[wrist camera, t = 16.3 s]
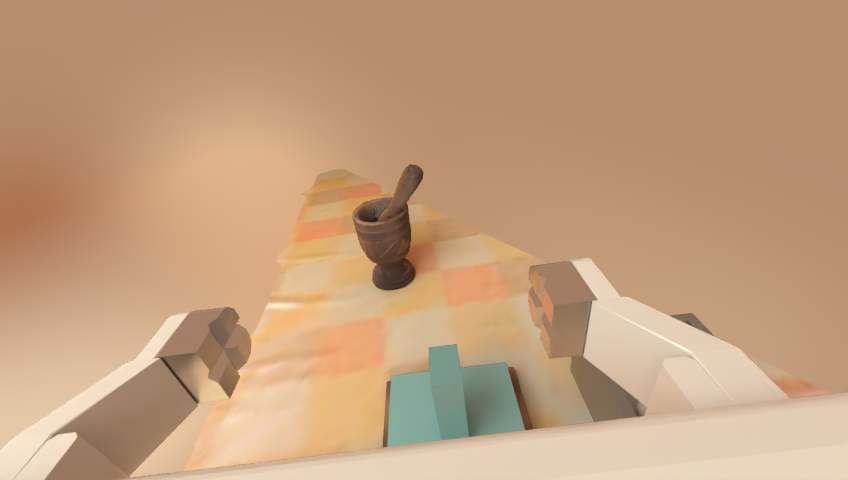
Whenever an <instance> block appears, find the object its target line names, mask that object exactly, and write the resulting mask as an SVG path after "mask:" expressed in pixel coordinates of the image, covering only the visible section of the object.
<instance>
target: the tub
mask: <svg viewBox="0 0 848 480" xmlns="http://www.w3.org/2000/svg"><path fill="white" fill-rule="evenodd" d="M671 317H673V318H675V319H677V320H679V321H681V322H684V323H686V324H688V325H690V326H692V327H694V328H697V329H699V330H701V331H703V332H705V333H707V334H710V335H712V336H714V335H713V334H712V333H711V332H710V331H709V330H708V329H707V328H706V327H705V326H704V325H703V324H702V323H701V322H700V321H699V320H698V319H697V318H696V317H695V316H694V315H693V314H692V313H689V314H680V315H672V316H671ZM583 356H584V355H580V356H572V362H571V369H570V370H571V372H572V374H573V376H574V378H575V381H576V383H577V385H578V387H579V389H580V392H581V394H582V396H583V398H584V400H585V402H586V405H587V407H588V409H589V411H590V413H591V416H592V418H593V420H594V422H599V421H607V420H616V419H624V418H632V417H641V416H645V413H646V410H647V407H646V406H645V405H644V404H642V403H641V402H640V401H639V400H637V399H636V398H635V397H634V396H632V395H631V394H630V393H628V392H627V391H626V390H625V389H623V388H622V387H621V386H620V385H618V384H617V383H616V382H615V381H613V380H612V379H611V378H610V377H608V376H607V375H606V374H605V373H603V372H602V371H601V370H599V369H598V368H597V367H596V366H594V365H593V364H592V363H591V362H589V361H588V360H587V359H586V358H584V357H583Z"/></svg>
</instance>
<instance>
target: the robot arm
mask: <svg viewBox="0 0 848 480" xmlns="http://www.w3.org/2000/svg"><path fill="white" fill-rule="evenodd" d="M529 280H530V282H531V284H532V288H531V289H530V290H529V291H528V301H529V308H530V313H531V316H532V319H533V322H534V324H535V326H537V327H538V328H540V329H541V340H542V343H543V345H544V347H545V350H546V352H547V354H548V356H549V359H550V358H560V357H570V356H580V355H584V356H583V357H584V358H586V359H587V360H588V361H589V362H591V363H592V364H593V365H594V366H596V367H597V368H598V369H599V370H601V371H602V372H603V373H605V374H606V375H607V376H608V377H610V378H611V379H612V380H613V381H615V382H616V383H617V384H618V385H620V386H621V387H622V388H623V389H625V390H626V391H627V392H628V393H630V394H631V395H632V396H634V397H635V398H636V399H637V400H639V401H640V402H641V403H642V404H644V405H645V406H646V407H647V410H646V413H645V416H641V417H632V418H624V419H616V420H607V421H599V422H591V423H582V424H574V425H566V426H558V427H549V428H541V429H533V430H524V431H516V432H508V433H499V434H491V435H483V436H474V437H466V438H458V439H449V440H441V441H433V442H425V443H416V444H408V445H400V446H392V447H383V448H375V449H367V450H359V451H350V452H342V453H334V454H326V455H317V456H309V457H301V458H292V459H284V460H276V461H267V462H259V463H250V464H242V465H233V466H225V467H217V468H208V469H200V470H191V471H183V472H174V473H166V474H158V475H149V476H141V477H133V478H130V477H129V476H130V475H131V474H132V473H133V472H134V471H135V470H136V469H137V468H138V467H139V466H140V464H142V463H143V462H144V461H145V459H146V458H147V457H148V456H149V455H150V454H151V453H152V452H153V451H154V450H155V449H156V448H157V447H158V446H159V445H160V444H161V443H162V442H163V441H164V440H165V439H166V438H167V437H168V436H169V435H170V434H171V433H172V432H173V431H174V430H175V429H176V428H177V427H178V426H179V425H180V424H181V423H182V422H183V420H184V419H185V418H186V417H187V416H188V415H189V414H190V413H191V412H192V411H193V410H194V409H195V408H196V407H197V406H198V405H197V404H201V403H207V402H214V401H220V400H226V399H230V397H231V395H232V393H233V391H234V389H235V387H236V384H237V382H238V380H239V378H240V375H239V373H238V370H239V369H240V368H241V367H242V366H243V365H245V364H246V363H247V361H248V358H249V356H250V353H251V339H250V335H249V333H248V332H247V330H246V329H245V328H244V327H242V326H240V325H238V324H237V323H238V320H239V316H238V314H237V313H236V311H235V310H234V309H233V308H229V307H225V308H217V309H208V310H199V311H193V312H183V313H176V314H174V315H172V316H170V317H169V318H168V319H167V321H166V322H165V323H164V324H163V326H162V327H161V328H160V329H159V331H158V332H157V333H156V334H155V335H154V337H153V338H152V339H151V340H150V342H149V343H148V344H147V345H146V347H145V348H144V349H143V350H142V352H141V353H140V354H139V355H138V357H137V358H136V359H135V360H134V361H133V362H127V363H126V364H124V365H123V366H121V367H120V368H118V369H117V370H115V371H114V372H112V373H111V374H109V375H108V376H106V377H105V378H103V379H101V380H100V381H99V382H97V383H96V384H94V385H93V386H91V387H89V388H88V389H86V390H85V391H83V392H82V393H80V394H79V395H77V396H76V397H74V398H73V399H71V400H70V401H68V402H67V403H65V404H64V405H62V406H61V407H59V408H58V409H56V410H55V411H53V412H51V413H50V414H48V415H47V416H45V417H44V418H42V419H41V420H39V421H38V422H36V423H35V424H33V425H32V426H30V427H29V428H27V429H26V430H24V431H23V432H21V433H20V434H18V435H17V436H15V437H14V438H12V439H11V440H10V441H9V442H8V443H7V444H6V445H5V447H4V448H3V449H2V450H1V451H0V480H848V392H840V393H832V394H824V395H815V396H807V397H798V398H789V397H788V396H787V395H786V394H785V393H784V392H783V391H782V390H781V389H780V388H779V387H778V386H777V385H776V384H775V383H774V382H773V381H772V380H771V379H770V378H769V377H768V376H767V375H766V374H765V373H764V372H763V371H762V370H761V369H760V368H759V367H758V366H756V365H755V364H754V363H753V362H752V361H751V360H750V359H749V358H748V357H747V356H746V355H745V354H744V353H743V352H742V351H741V350H740V349H739V348H738V347H735V346H733V345H731V344H729V343H727V342H725V341H722V340H720V339H718V338H716V337H714V336H712V335H710V334H707V333H705V332H703V331H701V330H699V329H697V328H694V327H692V326H690V325H688V324H686V323H684V322H681V321H679V320H677V319H675V318H673V317H671V316H668V315H666V314H664V313H662V312H660V311H658V310H655V309H653V308H651V307H649V306H647V305H644V304H642V303H640V302H638V301H636V300H634V299H631V298H629V297H621V296H620V295H619V294H618V293H617V291H616V290H615V289H614V288H613V286H612V285H611V284H610V282H609V281H608V280H607V279H606V278H605V276H604V275H603V274H602V273H601V271H600V270H599V269H598V267H597V266H596V265H595V264H594V263H593V261H592V260H591V259H590V258H581V259H574V260H568V261H565V262H558V263H551V264H544V265H536V266H530V270H529Z"/></svg>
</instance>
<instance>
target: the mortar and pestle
mask: <svg viewBox="0 0 848 480" xmlns="http://www.w3.org/2000/svg"><path fill="white" fill-rule="evenodd" d="M422 179H423V171H422V169H421V168H420V167H418V166H416V165H409V166H407V167H406V168H405V170H404V171H403V173H402V175H401V178H400V180H399V182H398V185H397V188H396V191H395V194H394V196H393V198H380V199H376V200H370V201H366V202H364V203H363V204H361V205H360V206H358V207H357V208H356V209H355V210H354V212H353V221H354V225H355V228H356V232H357V235H358V239H359V242H360V245H361V247H362V249H363V251H364V252H365V254H366V256H367V257H368V258H369V259H370V260H371V261H372V262H374V263H377V265H376V266H375V268H374V270H373V283H374V284H375V286H376V287H378V288H380V289H384V290H389V289H397V288H400V287H403V286H404V285H406V284H408V283H409V282H410V281H411V280H412V279H413V278H414V276H415V271H414V268H413V266H412V264H411V263H410V262H409V261H408V260H406V259H405V258H404V257H405V256H406V255H407V253H408V252H409V248H410V242H411V227H410V222H409V213H408V206H407V204H406V203H407V201H408V200H409V198H410V196H411V195H412V194H413V193H414V191H415V190H416V189H417V187H418V185H419V184H420V182H421V181H422Z"/></svg>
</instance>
